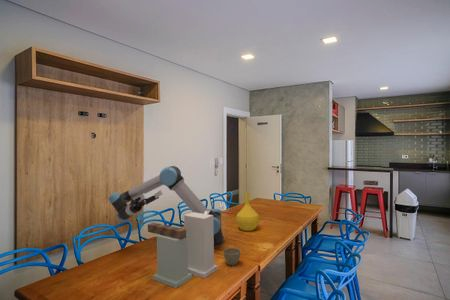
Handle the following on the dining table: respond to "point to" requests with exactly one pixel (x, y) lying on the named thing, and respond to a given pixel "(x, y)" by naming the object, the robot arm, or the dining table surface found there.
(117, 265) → the dining table surface
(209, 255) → the tall stand
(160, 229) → the walnut beam
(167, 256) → the post
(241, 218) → the vase
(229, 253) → the beige round bowl
